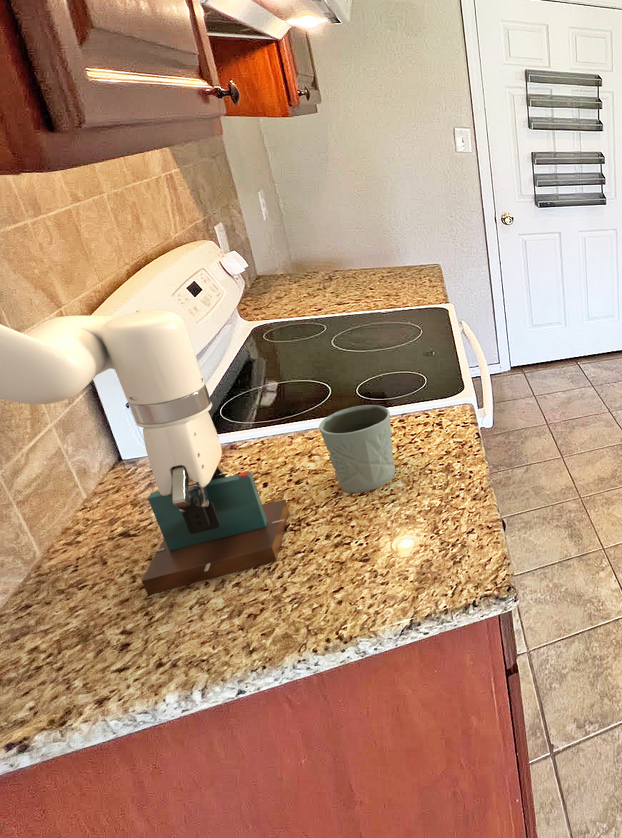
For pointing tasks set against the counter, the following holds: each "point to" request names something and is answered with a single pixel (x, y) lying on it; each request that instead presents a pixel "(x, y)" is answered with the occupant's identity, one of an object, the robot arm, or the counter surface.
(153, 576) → the frame stand
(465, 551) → the counter surface
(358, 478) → the drinking glass
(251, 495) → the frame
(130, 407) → the robot arm
